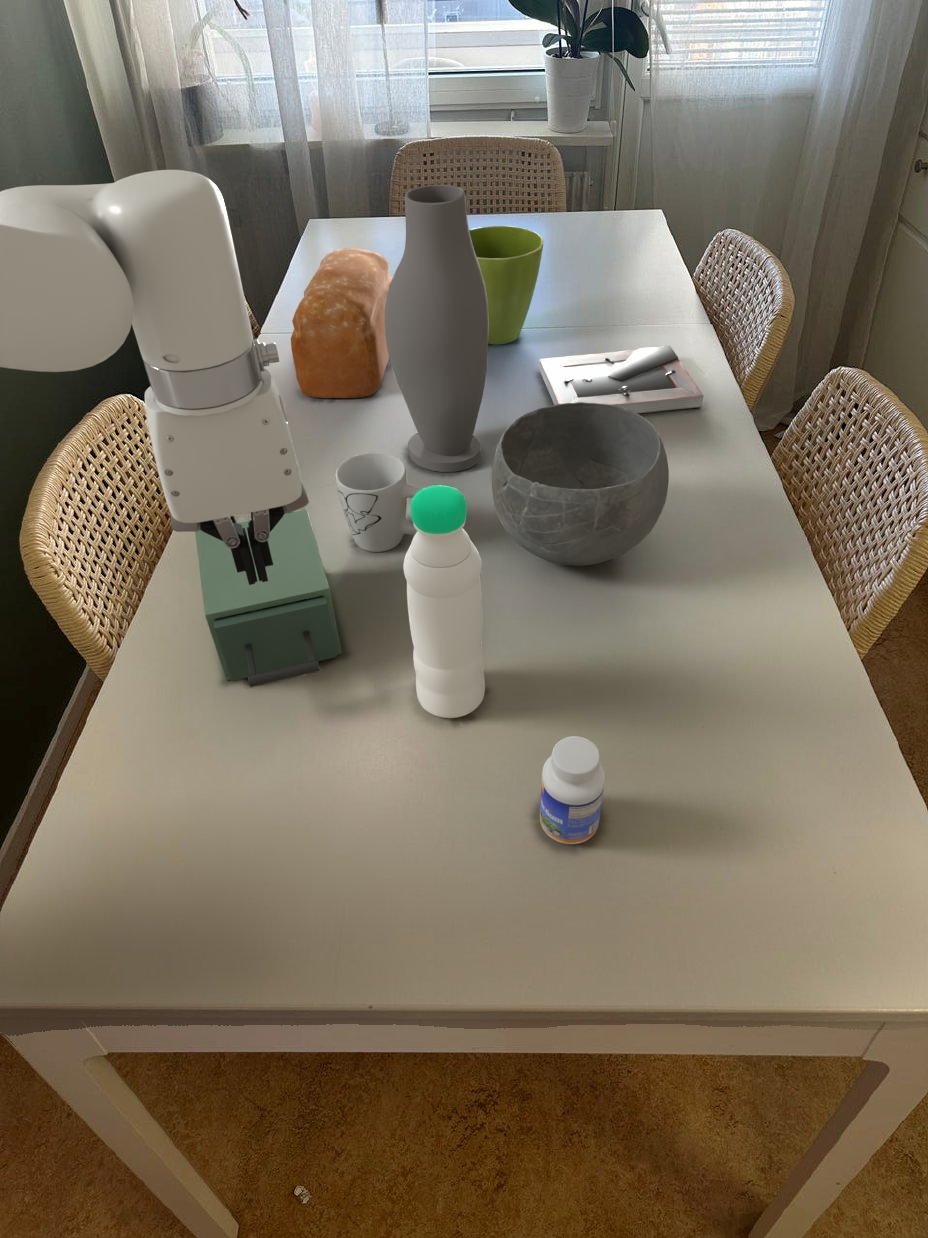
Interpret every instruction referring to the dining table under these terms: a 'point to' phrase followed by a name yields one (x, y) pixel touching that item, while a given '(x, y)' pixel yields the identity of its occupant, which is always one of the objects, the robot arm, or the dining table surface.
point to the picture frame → (623, 380)
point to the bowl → (579, 481)
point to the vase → (439, 329)
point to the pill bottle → (572, 791)
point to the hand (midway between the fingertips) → (256, 572)
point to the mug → (375, 499)
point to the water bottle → (445, 604)
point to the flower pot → (507, 276)
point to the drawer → (277, 641)
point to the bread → (342, 326)
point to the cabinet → (287, 578)
